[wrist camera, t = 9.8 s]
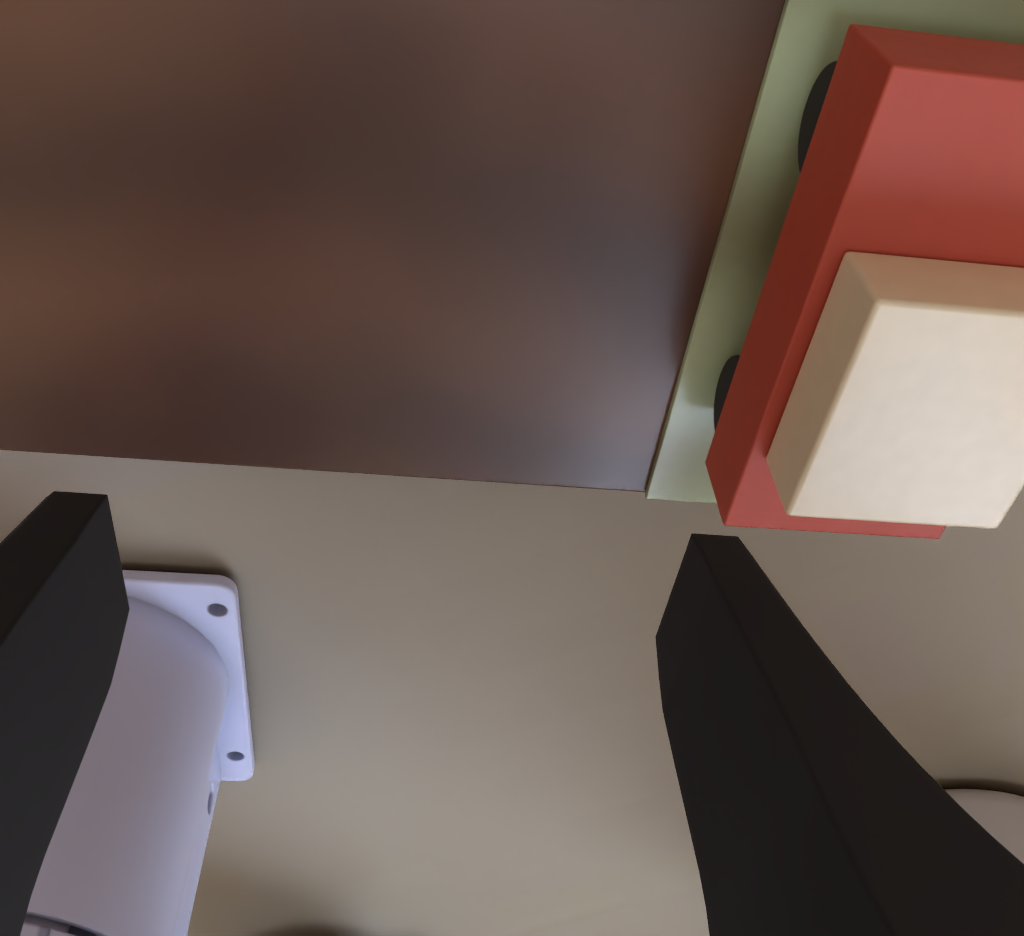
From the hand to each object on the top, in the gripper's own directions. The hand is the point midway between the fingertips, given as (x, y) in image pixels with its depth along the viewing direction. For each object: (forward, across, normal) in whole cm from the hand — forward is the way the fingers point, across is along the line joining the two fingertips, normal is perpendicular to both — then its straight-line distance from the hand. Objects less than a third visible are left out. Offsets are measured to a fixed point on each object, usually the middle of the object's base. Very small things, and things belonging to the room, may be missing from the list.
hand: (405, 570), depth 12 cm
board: (+9, -1, -1) cm, 9 cm away
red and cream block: (+8, -9, -1) cm, 12 cm away
